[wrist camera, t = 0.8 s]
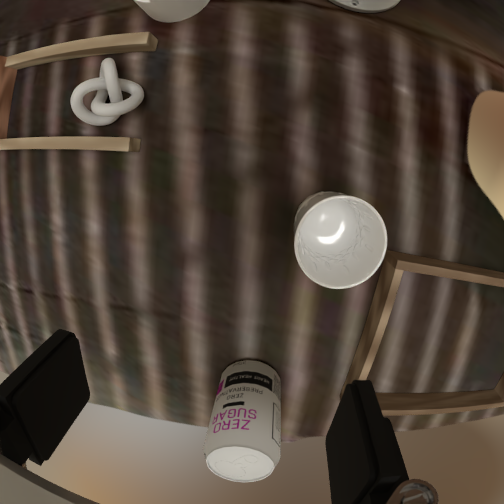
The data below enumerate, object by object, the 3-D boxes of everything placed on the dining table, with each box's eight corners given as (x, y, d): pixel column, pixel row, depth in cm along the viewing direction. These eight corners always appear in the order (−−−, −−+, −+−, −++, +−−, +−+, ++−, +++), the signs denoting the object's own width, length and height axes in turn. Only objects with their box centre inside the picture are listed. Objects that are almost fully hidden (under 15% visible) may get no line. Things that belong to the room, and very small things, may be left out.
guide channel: (13, 62, 31) (-8, 57, 26) (158, 40, 30) (142, 25, 25) (0, 149, 35) (-23, 151, 30) (139, 151, 34) (120, 151, 29)
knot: (91, 74, 32) (65, 65, 26) (147, 58, 31) (127, 44, 25) (92, 129, 34) (65, 127, 28) (149, 116, 33) (128, 110, 27)
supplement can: (251, 409, 43) (242, 491, 29) (209, 378, 42) (184, 460, 28) (293, 381, 41) (296, 467, 27) (249, 346, 40) (236, 431, 26)
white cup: (275, 232, 36) (275, 258, 26) (313, 172, 34) (328, 176, 24) (333, 267, 36) (351, 304, 27) (371, 211, 34) (404, 229, 25)
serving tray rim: (386, 249, 35) (397, 260, 31) (545, 281, 34) (559, 290, 30) (339, 395, 42) (343, 414, 38) (495, 393, 41) (504, 406, 37)
